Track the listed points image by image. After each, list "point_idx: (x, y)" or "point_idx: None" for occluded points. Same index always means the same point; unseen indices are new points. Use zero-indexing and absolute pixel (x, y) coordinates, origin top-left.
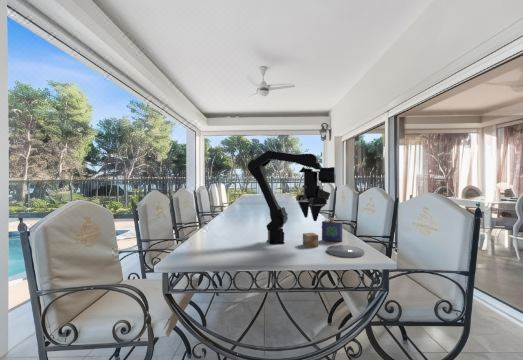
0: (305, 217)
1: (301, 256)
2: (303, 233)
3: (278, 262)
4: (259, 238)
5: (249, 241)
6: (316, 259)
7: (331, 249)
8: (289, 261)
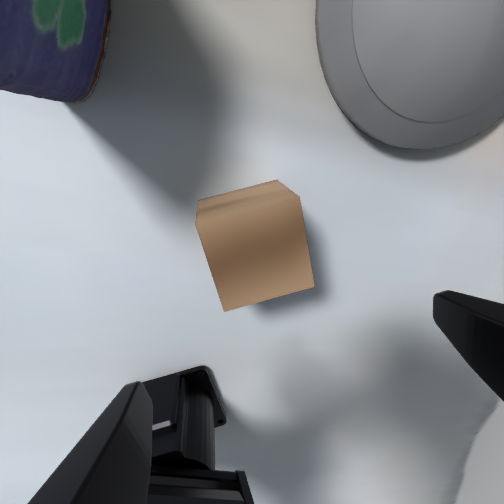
0: (150, 401)
1: None
2: (224, 307)
3: None
4: None
5: None
6: (500, 236)
7: (431, 122)
8: None
